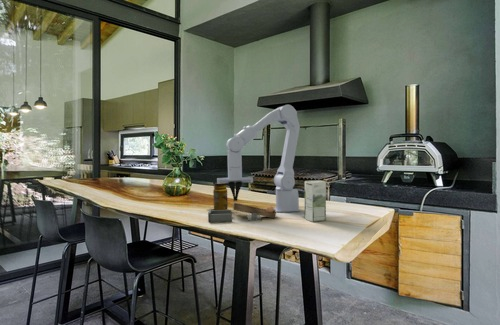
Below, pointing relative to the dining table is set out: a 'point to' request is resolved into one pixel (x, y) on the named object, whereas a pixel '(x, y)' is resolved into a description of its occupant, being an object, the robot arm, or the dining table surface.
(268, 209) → the ball
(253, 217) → the fulcrum
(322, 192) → the syrup box
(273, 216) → the lever
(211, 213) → the tray
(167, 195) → the dining table surface
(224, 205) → the condiment
